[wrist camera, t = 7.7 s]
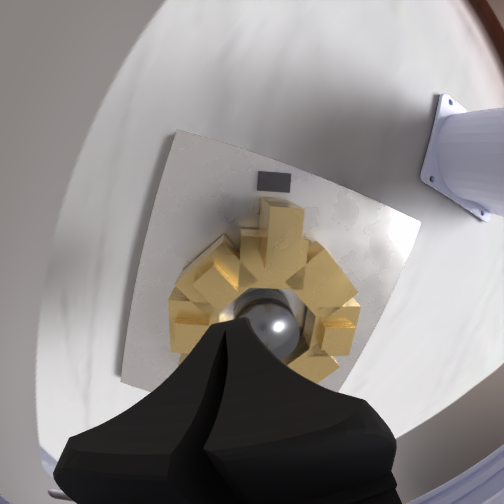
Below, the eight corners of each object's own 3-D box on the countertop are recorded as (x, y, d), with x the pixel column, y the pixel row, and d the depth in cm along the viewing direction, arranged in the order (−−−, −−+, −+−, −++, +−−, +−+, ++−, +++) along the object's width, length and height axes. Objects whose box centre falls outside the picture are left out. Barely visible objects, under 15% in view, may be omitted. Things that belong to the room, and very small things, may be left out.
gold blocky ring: (329, 382, 22) (345, 420, 18) (178, 379, 21) (169, 421, 17) (364, 207, 18) (400, 219, 14) (175, 192, 17) (156, 200, 13)
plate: (413, 220, 20) (445, 231, 16) (313, 417, 25) (323, 447, 21) (180, 131, 18) (166, 121, 14) (123, 374, 22) (110, 404, 18)
